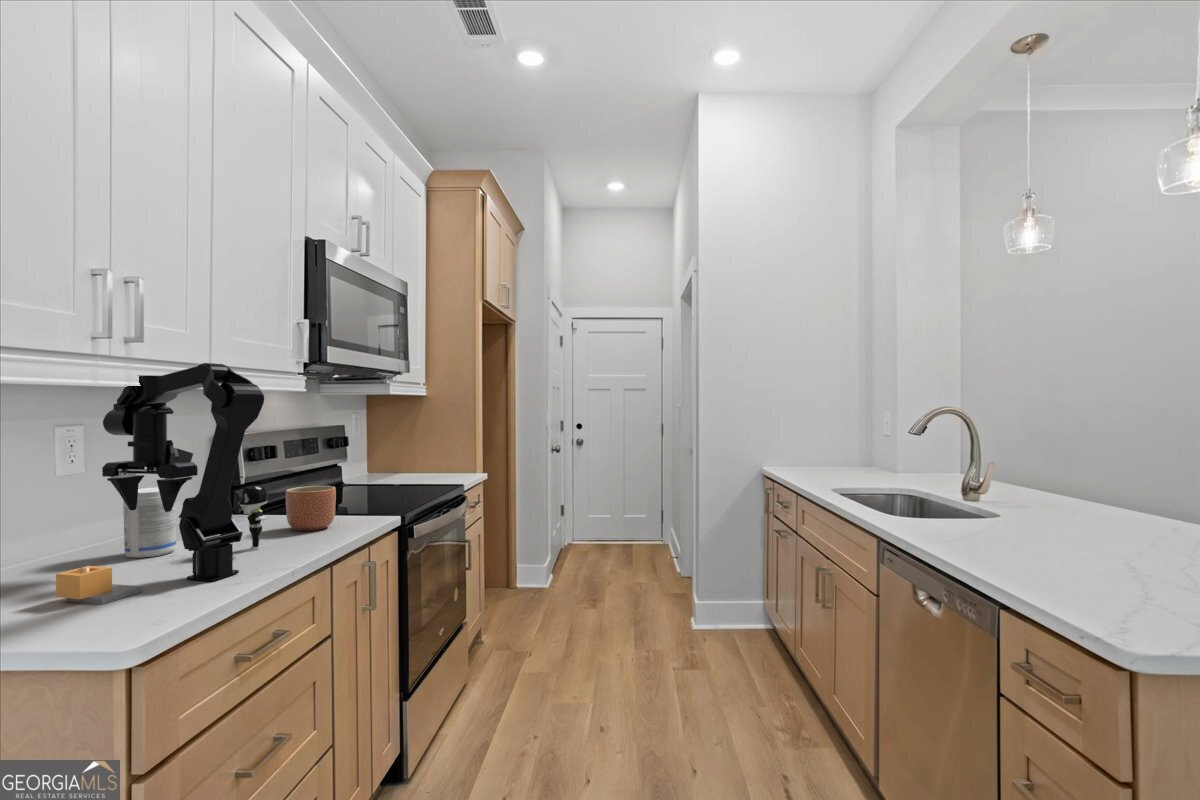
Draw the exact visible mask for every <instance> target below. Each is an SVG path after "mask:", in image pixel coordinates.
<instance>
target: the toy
mask: <svg viewBox="0 0 1200 800" xmlns="http://www.w3.org/2000/svg"><path fill="white" fill-rule="evenodd" d="M241 495H242V500H241V502H240V503H239V505H240V508H241V509H242V511H243V514H244V515H247V520H248V524H249V525H248V529H249V532H250V534H251V539H252V546H250V548H249V550H251V551H258V550H259V545H260V535H261V532H262V531H263V525H262V523H261V521H264V520H268V518H267V517H266V515H264V514H263V510H262V509H261V506H264V505H265V504H267V503H268V500H269V493H268V490H267V487H266V486H262V485H256V484H255V485H249V486H248V485H247V486H244V487H243V490H242V494H241Z"/></svg>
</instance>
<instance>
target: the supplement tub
mask: <svg viewBox="0 0 1200 800" xmlns="http://www.w3.org/2000/svg"><path fill="white" fill-rule="evenodd" d="M122 500H123V499H122ZM122 506H123V507H122V508H123V533H124V535H123V538H124V539H123V540H124V541H123V543H124V544H123V545H124V546H123V547H124V555H125V557H127V558H130V559H143V558H153V557H160V556H163V555H168V554H170V553H172V552H174V551H175V550H176V548H177V531H176V530H177V529H176V525H177V524H176V522H177V521H176V502H175V503H174V505H173V508H172V510H171V511H170V512H165V510H164V507H163V504H162V500H161V496H160V492H159V488H158V486H157V487H147V488H145V487H144V488H138V499H137V507H136V510H129V508H128V506H127V505H126V503H125V502H124V500H123V505H122Z"/></svg>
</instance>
